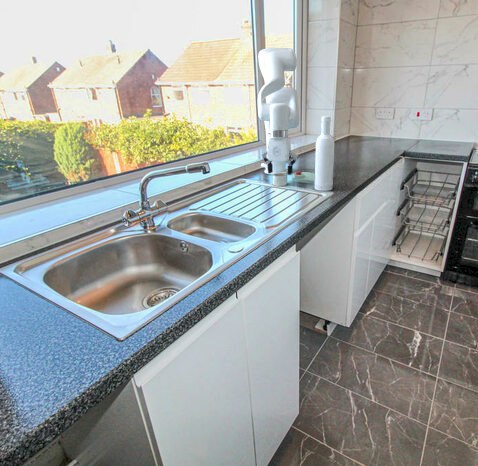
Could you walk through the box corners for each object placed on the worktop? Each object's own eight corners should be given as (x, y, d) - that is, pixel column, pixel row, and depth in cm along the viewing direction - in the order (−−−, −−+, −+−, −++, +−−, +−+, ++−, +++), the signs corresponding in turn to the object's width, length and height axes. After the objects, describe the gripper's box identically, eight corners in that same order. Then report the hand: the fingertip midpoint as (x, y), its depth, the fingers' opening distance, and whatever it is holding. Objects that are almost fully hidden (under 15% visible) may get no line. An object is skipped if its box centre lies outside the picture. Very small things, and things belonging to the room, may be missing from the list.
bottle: (335, 190, 141) (339, 116, 129) (317, 191, 140) (320, 117, 128) (328, 185, 149) (331, 115, 136) (312, 186, 147) (313, 115, 135)
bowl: (270, 185, 150) (270, 175, 148) (276, 182, 155) (276, 172, 153) (283, 187, 147) (283, 177, 145) (289, 183, 153) (289, 173, 151)
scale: (290, 181, 156) (290, 175, 155) (301, 174, 168) (301, 169, 167) (324, 185, 150) (324, 178, 149) (333, 177, 161) (333, 171, 160)
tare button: (294, 175, 156) (294, 172, 155) (296, 174, 158) (296, 171, 157) (299, 175, 155) (299, 172, 154) (301, 174, 157) (302, 171, 156)
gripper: (257, 134, 142) (259, 173, 148) (294, 135, 135) (294, 176, 142) (265, 133, 148) (266, 170, 155) (301, 133, 142) (300, 173, 148)
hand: (280, 173), depth 148 cm, fingers open, 9 cm apart
